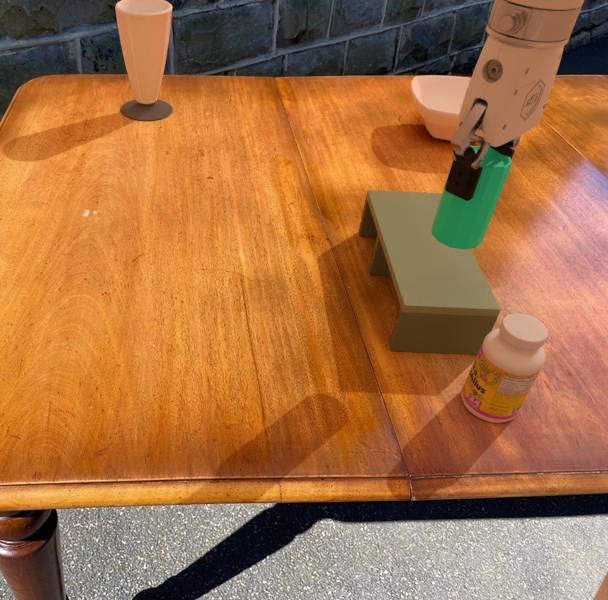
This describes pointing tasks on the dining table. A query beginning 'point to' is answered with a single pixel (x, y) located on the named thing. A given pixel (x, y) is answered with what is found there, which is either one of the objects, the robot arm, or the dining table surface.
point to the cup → (144, 54)
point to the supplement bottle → (505, 368)
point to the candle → (472, 205)
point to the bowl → (440, 103)
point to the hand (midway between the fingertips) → (474, 184)
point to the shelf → (427, 276)
